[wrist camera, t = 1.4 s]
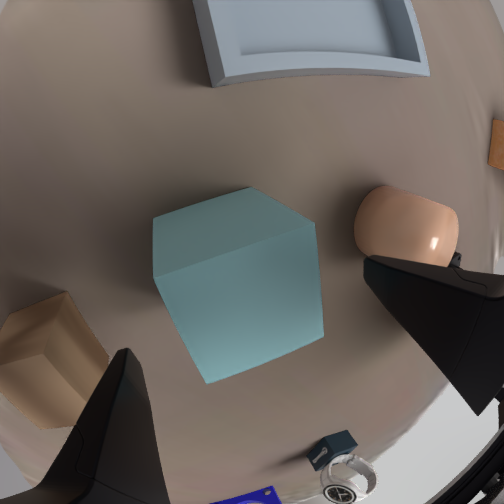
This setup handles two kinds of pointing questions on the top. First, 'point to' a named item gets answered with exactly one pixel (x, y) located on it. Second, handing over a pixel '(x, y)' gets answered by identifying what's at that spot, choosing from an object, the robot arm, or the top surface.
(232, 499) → the cable clip
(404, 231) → the terracotta cylinder
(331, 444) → the watch
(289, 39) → the tray
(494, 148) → the arch
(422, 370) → the top surface
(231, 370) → the teal block
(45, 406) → the walnut cube
